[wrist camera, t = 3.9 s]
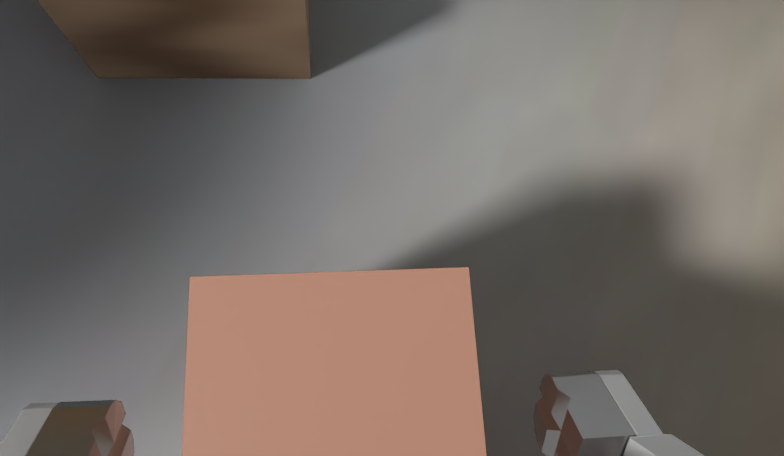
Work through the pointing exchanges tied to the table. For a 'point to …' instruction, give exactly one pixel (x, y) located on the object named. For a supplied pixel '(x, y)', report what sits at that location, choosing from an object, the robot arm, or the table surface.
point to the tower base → (188, 37)
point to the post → (333, 365)
